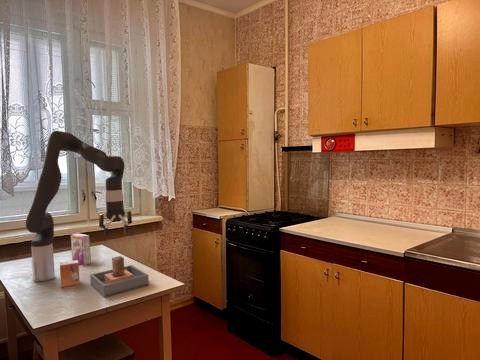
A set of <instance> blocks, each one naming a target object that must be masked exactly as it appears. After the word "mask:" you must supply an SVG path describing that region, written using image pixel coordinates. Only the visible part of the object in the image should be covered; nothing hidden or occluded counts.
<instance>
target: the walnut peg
mask: <svg viewBox="0 0 480 360" xmlns="http://www.w3.org/2000/svg"><path fill="white" fill-rule="evenodd" d="M111 264H112V269H113V277H120V276H124V275H125V271H124V267H125V258H124V257H123V256H121V255H120V256H119V255H118V256H114V257H112V258H111Z"/></svg>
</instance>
